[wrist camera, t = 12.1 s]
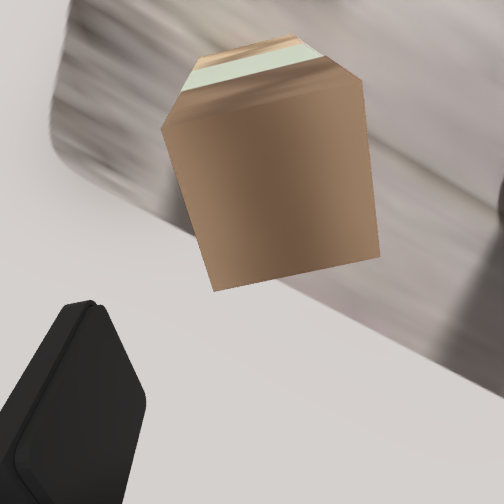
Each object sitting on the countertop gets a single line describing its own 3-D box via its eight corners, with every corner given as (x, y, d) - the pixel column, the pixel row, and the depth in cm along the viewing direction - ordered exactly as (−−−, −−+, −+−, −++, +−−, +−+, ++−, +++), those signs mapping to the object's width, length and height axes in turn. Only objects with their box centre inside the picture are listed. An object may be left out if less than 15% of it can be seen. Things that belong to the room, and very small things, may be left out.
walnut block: (325, 55, 18) (361, 80, 13) (344, 192, 21) (380, 256, 16) (181, 91, 19) (160, 128, 14) (218, 220, 22) (213, 291, 17)
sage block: (304, 42, 24) (324, 56, 18) (321, 153, 27) (342, 193, 21) (191, 71, 24) (179, 92, 19) (220, 177, 27) (217, 220, 22)
